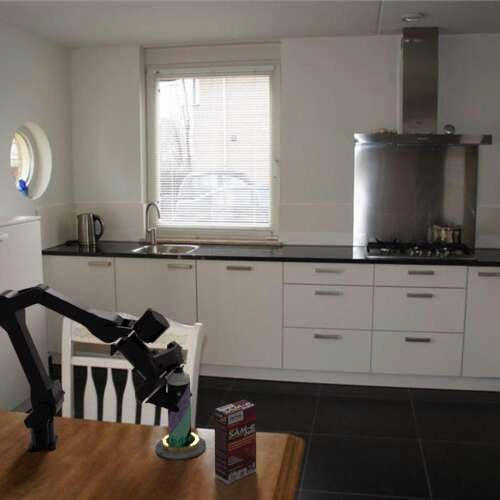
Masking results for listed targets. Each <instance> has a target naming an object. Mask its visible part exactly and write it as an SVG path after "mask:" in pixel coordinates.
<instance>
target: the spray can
mask: <svg viewBox="0 0 500 500" xmlns="http://www.w3.org/2000/svg"><path fill="white" fill-rule="evenodd" d="M181 366H182V365H180V366H175V370H174V371H173V372H172V373H171V374H169V375H168V376H167V379H166V381H167V384H166V391H167V393H168V394H169V395H170V396H171V398H172V399H173V400H174V402H175V403H176V404H177V406H178V407H179V409H180V411H179V412H177V413H176V412H173V411H171V410H168V409H167V424H168V425H167V427H168V429H167V430H168V431H167V432H168V434H167V435H169V445H171V446H176V447H180V446H187V445H190V444H191V443H192V442H191V432H192V405H191V404H192V403H191V400H192V396H191V393H192V392H191V393H190V391H191V376H190V374H189V373H187V372H185V370H184V368H183V369H182V367H181Z"/></svg>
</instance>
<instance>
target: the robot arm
mask: <svg viewBox="0 0 500 500" xmlns="http://www.w3.org/2000/svg"><path fill="white" fill-rule="evenodd" d="M34 305H35V306H36V305H40V306H42V307H44V308H46V309H49V310H50V311H51V312H55V313H56V314H59V315H61V316H63V317H65V318H67V319H69V320H71V321H73V322H75V323H77V324H80V326H83V327H84V328H85V329H86V330H87V331H88V332H89V333H90V334H91V335H92V336H94V338H96V339H98V340H100V341H101V342H103V343H104V344H109V347H110V352H109V356H110V357H113V356H115V355H117V354H118V353H119V354H121V355H122V356H123V358H124V359H125V360H126V361H127V362H128V363H129V364H130V365H131V366H132V369H131V372H132V373H133V374H135V373H136V372H137V373H138V374H139V375H140V376H141V377H142V378H143V379H144V381H143V385H141V386H140V387H139V388H138V389H137V390H136V391H135V392H134V399H135V400H136V401H138V403H139V404H142V403H144V404H146V405H147V404H151V405H153V406H157V407H160V408H162V409H166V410H167V411H168V410H171V411H173V412H176V413H177V412H179V411H180V409H179V407H178V406H177V404H176V403H175V402H174V400H173V399H172V398H171V396H170V395H169V394H168V393H167V376H168V375H169V374H171V373H172V372H173V371H174V370H175V366H181V367H182V369H183V370H184V367H185V365H184V364H183V363H185V360H184V357H185V356H184V355H183V351H182V350H183V346H181V345H180V343H178V342H176V341H175V340H173V341H171V342H169V343H168V344H166V348H165V349H164V350H162V351H159V350H158V349H155V348H154V349H151V348H150V347H149V346H148V344H154V343H155V342H156V341H157V340H158V339H159V338H160V337H161V336H162V335H164V334H165V332H167V331H168V329H170V328H171V324H170V323H169V321H168V319H167V318H166V317H165V316H164V315H163V314H162V313H159V312H158V311H157V310H153V309H152V308H151V307H148V308H147V309H145V311H144V312H143V314H142V315H141V316H140V317H138V319H132V318H127V317H126V318H125V317H122V316H121V315H120V314H118V313H115V312H112V311H108V310H103V309H96V308H93V307H90V306H88V305H86V304H84V303H82V302H79V301H78V300H76V299H74V298H73V297H72V298H71V297H70V296H68V295H66V294H64V293H62V292H59V291H58V290H56V289H54V288H51V287H50V286H48V284H45V283H39V284H37V285H35V286H30V287H27V288H25V287H24V288H22V289H20V290H19V289H18V290H13V289H6V290H5V291H2V292H1V293H0V328H1V329H2V330H4V331H5V332H6V333H7V336H8V338H9V340H10V343H11V345H12V347H13V350H14V352H15V354H16V355H15V356H16V358H17V359H18V362H19V364H20V366H21V368H22V371H23V373H24V375H25V377H26V381H27V382H28V385H29V394H30V395H29V398H30V404H31V410H30V412H29V413H28V414H27V416H25V418H24V419H23V423H24V426H25V427H26V429H29V433H30V441H29V444H28V448H27V451H28V452H34V451H36V452H37V451H45V450H53V449H54V450H55V449H56V448H57V445H58V440H59V435H57V434H56V431H55V430H56V429H55V428H56V427H55V418H54V417H55V416H56V415H57V413H58V412H59V410H60V409H61V408H62V406H63V404H64V402H65V394H66V392H65V390H64V389H63V387H62V385H61V380H60V379H56V380H53V379H52V378H51V377H50V376H49V375H48V373H47V371H46V369H45V365H44V363H43V360H42V359H41V357H40V354H39V351H38V350H37V347H36V345H35V342H34V340H33V337H32V335H31V333H30V331H29V327H28V326H27V320H26V318H27V316H26V309H27V308H29V307H31V306H34ZM117 341H118V342H117ZM163 380H164V381H165V382H164V383H163V382H162V381H163ZM190 393H191V397H193V394H192V391H191V390H190ZM146 399H147V400H146ZM145 400H146V401H145Z"/></svg>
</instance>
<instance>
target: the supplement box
mask: <svg viewBox="0 0 500 500" xmlns="http://www.w3.org/2000/svg"><path fill="white" fill-rule="evenodd" d="M213 412H214V417H213V418H214V477H215V478H217V479H219V480H220V481H221V482H223V483H225V484H226V485H230V484H231V483H233V482H235V481H237V480H240V479H242V478H244V477H246V476H248V475H250V474H253V473H256V472H257V405H256V404H255V403H253V402H251V401H248V400H246V399H241V400H238V401H236V402H235V401H234V402H233V403H230V404H226V405H224V406H221V407H217V408H215V409H214V411H213Z"/></svg>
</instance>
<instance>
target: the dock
mask: <svg viewBox="0 0 500 500" xmlns="http://www.w3.org/2000/svg"><path fill="white" fill-rule="evenodd" d="M191 442H192V443H191V444H190V445H187V446H180V447H176V446H171V445H169V435H168V434H166V435H165V436H164V437H163V438H162V439H160V440H159V441H158V442H157V443H156V446H155V452H156V454H157V455H158V456H160V457H161V458H163V459H167V460H171V461H182V460H190V459H193V458H197V457H198V456H200V455H202V454H203V453H205V451H206V448H207V443H206V440H204V439H203V438H202V437H201V436H199V435H197V434H196V433H194V432H192V431H191Z"/></svg>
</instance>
